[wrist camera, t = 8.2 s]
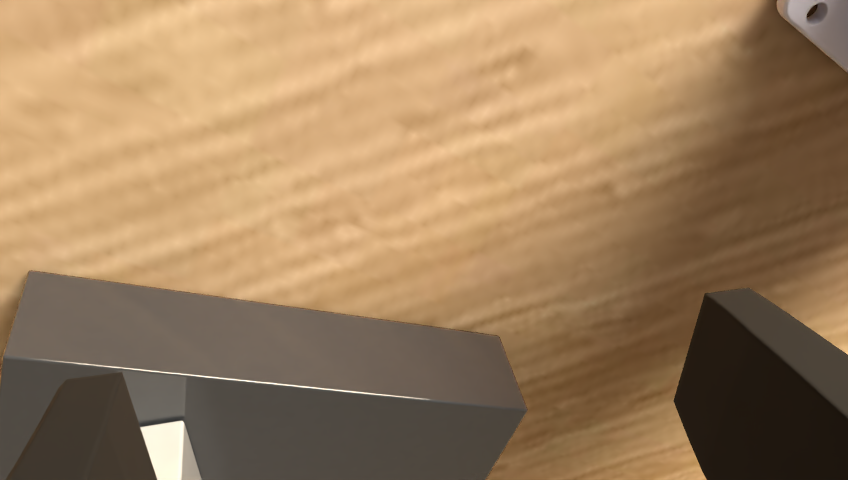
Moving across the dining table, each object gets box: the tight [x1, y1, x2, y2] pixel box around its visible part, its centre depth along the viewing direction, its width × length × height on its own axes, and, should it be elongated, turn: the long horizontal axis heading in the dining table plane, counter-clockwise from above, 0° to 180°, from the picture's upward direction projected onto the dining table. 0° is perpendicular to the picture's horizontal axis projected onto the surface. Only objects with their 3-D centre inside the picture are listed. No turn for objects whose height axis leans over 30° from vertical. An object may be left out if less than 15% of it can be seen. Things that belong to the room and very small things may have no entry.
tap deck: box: [0, 270, 528, 480], centre depth 23 cm, size 13×10×3 cm
